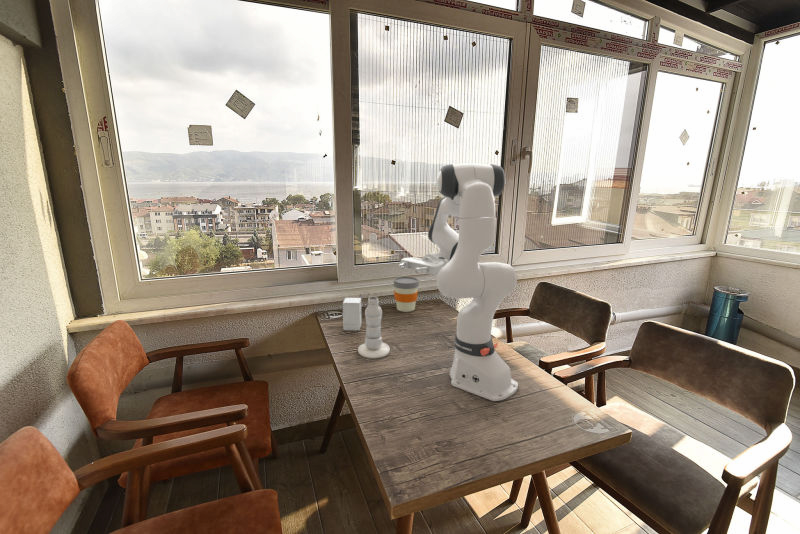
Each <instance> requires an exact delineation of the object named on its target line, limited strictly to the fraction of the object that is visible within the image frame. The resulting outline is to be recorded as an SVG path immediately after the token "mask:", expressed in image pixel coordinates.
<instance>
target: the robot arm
mask: <svg viewBox="0 0 800 534" xmlns="http://www.w3.org/2000/svg"><path fill="white" fill-rule="evenodd" d="M436 185H437V188H438V190H439V193H440V195H442V196H443V197H442V198H440V200H439V202H438V204H437V208H436V210H435V214H434V217H433V220H432V223H431V225H430V227H429V229H428V232H427V233H428V234H427V237H428V240H429V241H430V242H431V243H433V244H434V245H436V247H438V248H439V249H440V251H438V252H437V251H435V252H431V253H426V254H425V255H423V257H422V258H420V257H419V258H418V257H415V256H414V257H411V256H410V257H403V258H401V259H400V263H399V264H398V268H399V269H401V270H403V269H407V270H412V271H414V273H416V274H423V273H424V274H427V275H432V276H436V286H437V289H438V292H439V293H440V294H441V295H442V296H443V297H445V298H451V299H457V300H458V299H460V300H461V299H472V298H473V299H472V300H471V301H470V302H469V303H468V304H467V305H466V306H464V307H462V308H461V309H460V310H459V312H458V314H457V317H456V318H457V319H456V320H457V321H456V334H455V335H454V349H455V350H454V356H453V361H452V365H451V368H450V371H449V376H450V379H451V383H450V384H451V386H453V387H455V388H457V389H460V390H463V391H465V392H468V393H471V394H473V395H476V396H477V397H482V398H484V399H487V400H489V401H491V402H498V401H504V400H505V399H508V398H510V397H511V396H513V395H514V394H516V393H517V391H518V389H519V382H518V381H516V380H514V379H513V378H512V374H511V373H512V372H511V368H510V366H509V365H508V364H507V363H506V361H504V360H503V359H502V357H501V356H500V355H499V354H498V352H497V351H496V348H497V347H498V344H499V343H498V342H496V343H495V344H494V341H493V339H492V328H493V321H494V317H495V314H496V311H497V309H498V307H499V306H500V304H501V303H502V302H503V300H505V298H507V296H508V295H510V294H511V293H512V292H513V291H514V290H515V288H516V287H517V282H518V277H517V273H516V271H515V269H514V267H513V266H512V265H511V264H509V263H504V262H498V261H492V262H490V261H487V262H479V259H480V258H481V257H480V256H481V255H482V254H483V253H484V252H486V251H487V250H489V249H491V248H492V246H494V244H495V242H496V204H495V203H496V202H495V197H498V196H500V195H501V194H502V192H503V191H504V189H505V185H506V172H505V170H504V169H503V167H502V166H500V165H498V164H493V163H492V164H485V163H483V164H482V163H472V162H470V163H469V162H467V163H466V162H465V163H458V164H452V163H450V164H445V165H443V166H442V167H440V169H439V171H438V173H437V178H436ZM449 216H451V217H454V218H458V232H456V231H455V230H454V229H453V228H452V227H451V226H450V225H449V223H448V219H449Z"/></svg>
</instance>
